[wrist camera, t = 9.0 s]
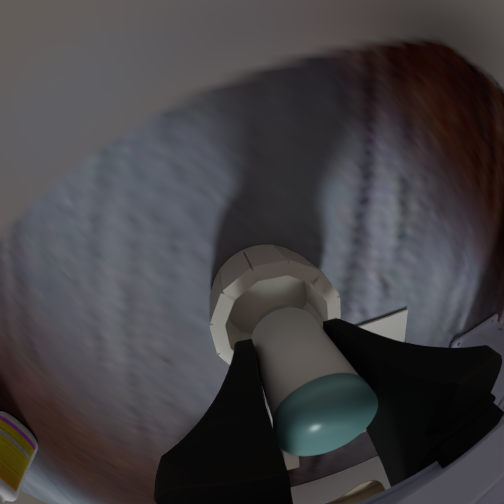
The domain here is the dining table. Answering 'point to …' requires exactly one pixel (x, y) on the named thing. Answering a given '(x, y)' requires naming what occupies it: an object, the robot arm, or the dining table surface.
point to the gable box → (344, 485)
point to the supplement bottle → (14, 455)
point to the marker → (309, 384)
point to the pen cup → (265, 292)
